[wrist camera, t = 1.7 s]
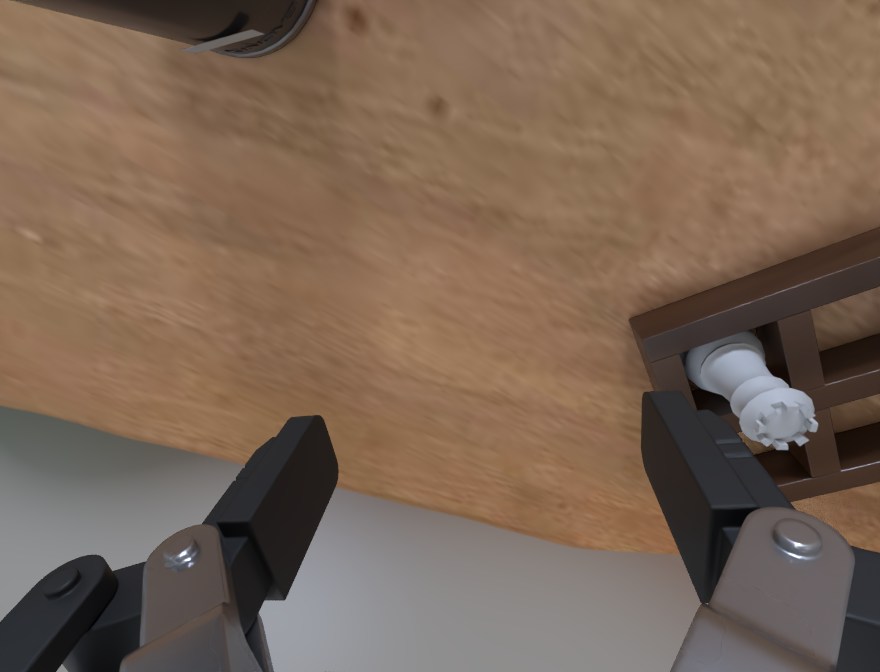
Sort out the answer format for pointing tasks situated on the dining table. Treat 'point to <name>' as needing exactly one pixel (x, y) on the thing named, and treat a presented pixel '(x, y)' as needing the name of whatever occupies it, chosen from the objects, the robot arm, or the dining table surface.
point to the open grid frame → (785, 357)
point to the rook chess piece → (751, 389)
